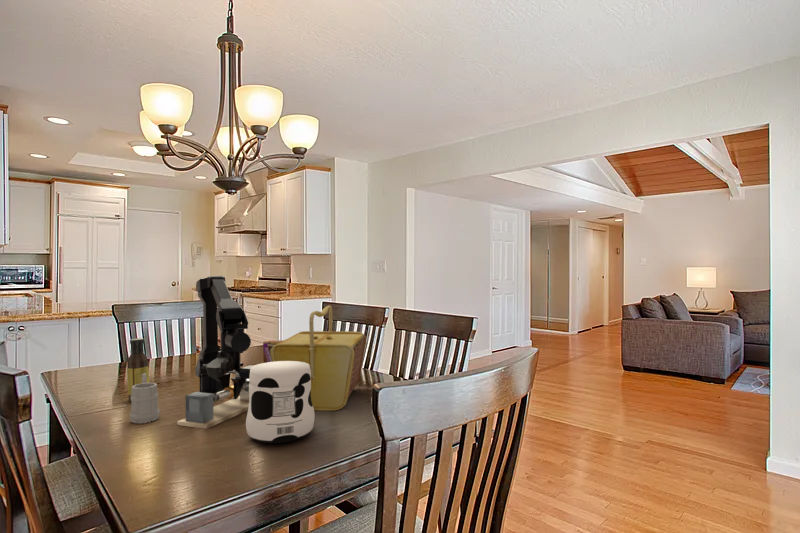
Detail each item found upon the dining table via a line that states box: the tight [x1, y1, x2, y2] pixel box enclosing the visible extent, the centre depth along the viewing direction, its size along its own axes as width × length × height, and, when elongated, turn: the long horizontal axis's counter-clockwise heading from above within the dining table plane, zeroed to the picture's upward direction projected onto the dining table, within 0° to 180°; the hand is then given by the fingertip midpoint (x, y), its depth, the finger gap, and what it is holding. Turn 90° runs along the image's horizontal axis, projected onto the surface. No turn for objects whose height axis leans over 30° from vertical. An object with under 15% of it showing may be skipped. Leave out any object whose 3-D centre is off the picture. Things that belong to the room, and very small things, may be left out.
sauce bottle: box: [126, 337, 150, 402], centre depth 158 cm, size 6×6×20 cm
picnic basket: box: [270, 304, 367, 412], centre depth 157 cm, size 29×26×30 cm
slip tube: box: [213, 382, 249, 404], centre depth 149 cm, size 22×3×3 cm, turn 161°
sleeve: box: [239, 379, 250, 401], centre depth 157 cm, size 9×4×6 cm, turn 161°
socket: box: [185, 391, 214, 423], centre depth 133 cm, size 4×6×7 cm, turn 71°
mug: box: [129, 374, 161, 424], centre depth 139 cm, size 8×12×12 cm, turn 30°
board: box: [176, 395, 249, 430], centre depth 146 cm, size 33×10×1 cm, turn 161°
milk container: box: [244, 361, 315, 444], centre depth 123 cm, size 17×17×18 cm
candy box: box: [262, 339, 285, 363], centre depth 182 cm, size 9×4×15 cm, turn 89°
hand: (230, 398), depth 146 cm, fingers closed on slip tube, 3 cm apart
